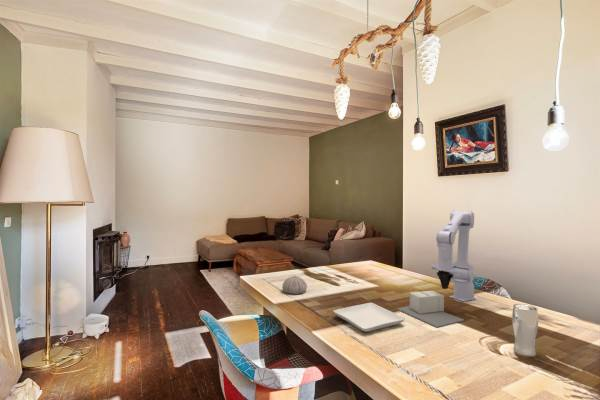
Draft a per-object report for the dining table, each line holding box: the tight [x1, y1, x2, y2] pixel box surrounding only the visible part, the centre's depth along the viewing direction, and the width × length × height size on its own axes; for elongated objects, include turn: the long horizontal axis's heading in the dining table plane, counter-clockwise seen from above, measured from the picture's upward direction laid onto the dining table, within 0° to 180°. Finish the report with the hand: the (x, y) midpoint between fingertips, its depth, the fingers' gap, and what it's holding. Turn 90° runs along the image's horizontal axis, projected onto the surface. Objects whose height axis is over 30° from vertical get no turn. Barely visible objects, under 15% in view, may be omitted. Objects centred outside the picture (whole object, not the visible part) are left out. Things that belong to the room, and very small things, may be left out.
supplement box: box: [409, 290, 445, 314], centre depth 142 cm, size 7×7×13 cm
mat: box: [396, 305, 465, 329], centre depth 137 cm, size 16×22×1 cm
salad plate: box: [333, 302, 406, 333], centre depth 130 cm, size 21×21×3 cm
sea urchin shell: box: [281, 275, 308, 295], centre depth 170 cm, size 13×14×8 cm
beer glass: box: [511, 303, 539, 358], centre depth 105 cm, size 7×7×15 cm
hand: (444, 288), depth 141 cm, fingers closed
